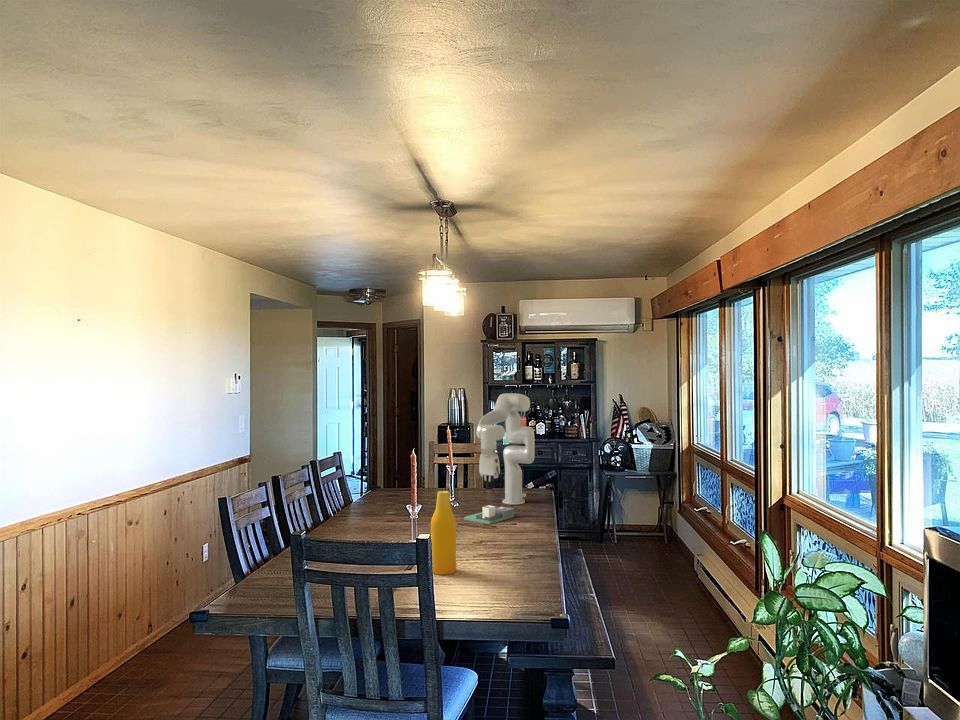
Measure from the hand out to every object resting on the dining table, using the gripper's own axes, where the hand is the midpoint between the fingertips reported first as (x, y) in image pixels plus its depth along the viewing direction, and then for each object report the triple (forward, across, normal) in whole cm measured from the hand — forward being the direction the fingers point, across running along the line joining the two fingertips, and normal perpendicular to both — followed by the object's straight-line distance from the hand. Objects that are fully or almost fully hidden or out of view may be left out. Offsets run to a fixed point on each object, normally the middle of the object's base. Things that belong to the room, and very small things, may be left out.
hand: (489, 489), depth 315 cm
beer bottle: (+13, -37, +74) cm, 84 cm away
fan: (+14, -1, -9) cm, 17 cm away
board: (+15, +3, -3) cm, 16 cm away
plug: (+13, 0, +1) cm, 13 cm away
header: (+14, 0, +1) cm, 14 cm away
